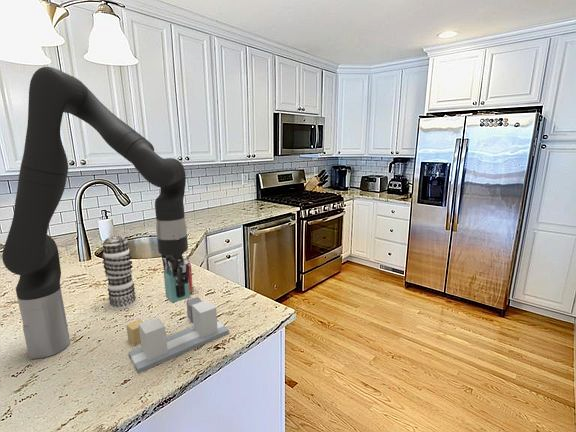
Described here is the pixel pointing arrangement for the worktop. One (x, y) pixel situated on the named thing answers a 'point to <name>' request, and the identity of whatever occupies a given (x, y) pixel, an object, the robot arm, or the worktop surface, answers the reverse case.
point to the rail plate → (176, 337)
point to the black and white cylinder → (118, 272)
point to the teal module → (173, 288)
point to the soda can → (189, 275)
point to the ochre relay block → (134, 332)
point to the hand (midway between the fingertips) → (177, 293)
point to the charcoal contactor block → (189, 306)
